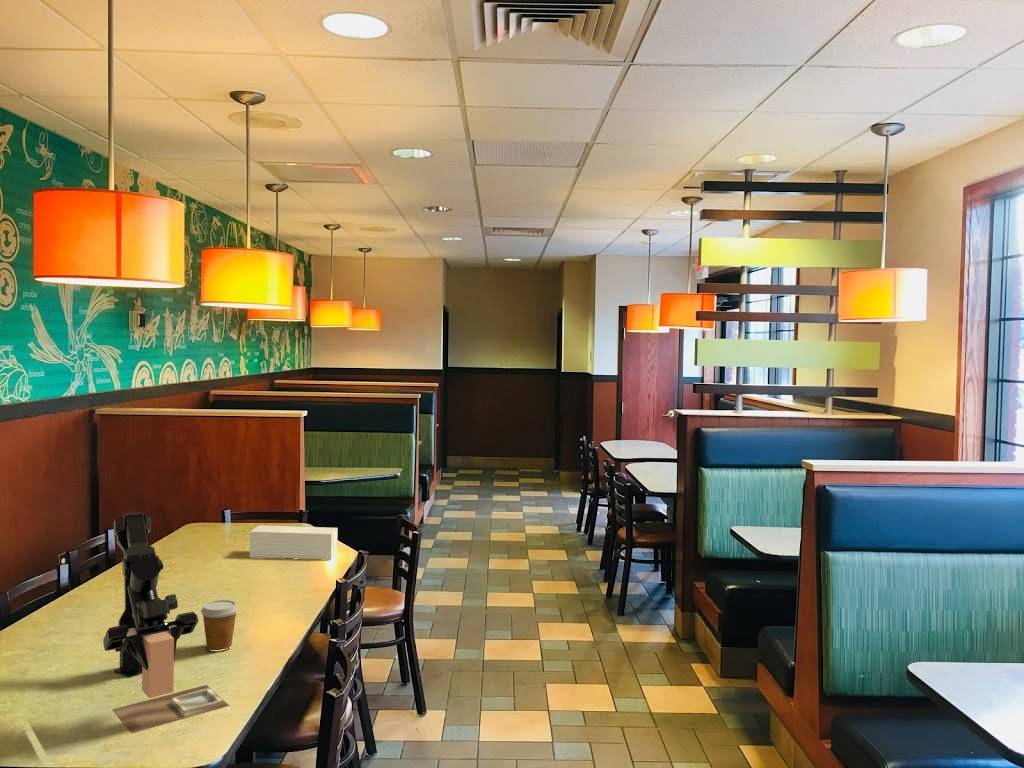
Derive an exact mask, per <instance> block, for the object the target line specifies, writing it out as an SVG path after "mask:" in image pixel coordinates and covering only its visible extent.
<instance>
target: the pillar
mask: <svg viewBox="0 0 1024 768" xmlns="http://www.w3.org/2000/svg"><path fill="white" fill-rule="evenodd" d="M143 648H144V652H145V655H146V658H147V662H148V670H145V669H144V668H143V666H142V674H141V676H142V677H141V678H142V679H141V680H142V681H141V691H142V692H143V693H144V694H145V695H146V696H147V697H148V698H149V699H153V698H157V697H161V696H165V695H169V694H173V693H174V682H175V681H174V680H175V679H174V675H175V673H174V669H175V668H174V666H175V664H174V663H175V660H174V638H173V637H172V636H171V635H170V634H169V633H168V632H167V631H166V632H161V633H156V634H152V635H147V636H143Z"/></svg>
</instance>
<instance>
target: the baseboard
mask: <svg viewBox="0 0 1024 768" xmlns="http://www.w3.org/2000/svg"><path fill="white" fill-rule="evenodd" d="M226 707H230V704H229V703H227V702H226V701H225V700H224V699H223V698H222V697H221V696H219V694H217V693H216V692H215V691H214V690H213V689H212V688H211V687H210V686H208V685H207V684H205V685H201V686H197V687H194V688H193V687H192V688H189V689H186V690H185V689H184V690H182V691H179V692H172V693H169V694H165V695H161V696H157V697H153V698H149V699H147V700H143V701H140V702H135V703H132V704H127V705H124V706H121V707H117V708H113V709H112V711H113V712H114V714H115V715H116V716H117V717H118V720H119V719H120V721H121V722H122V724H123V725H124V726H125V728H127V730H128V731H129V732H130V733H131V734H135V733H138V732H142V731H145V730H149V729H152V728H156V727H159V726H163V725H166V724H169V723H170V724H171V723H173V722H177V721H181V720H185V719H187V718H188V719H189V718H191V717H195V716H198V715H201V714H205V713H208V712H212V711H216V710H219V709H223V708H226Z"/></svg>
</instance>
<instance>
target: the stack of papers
mask: <svg viewBox="0 0 1024 768" xmlns="http://www.w3.org/2000/svg"><path fill="white" fill-rule="evenodd" d="M338 531H339V530H338V527H324V526H323V527H319V526H290V525H257V526H256V527H254V528H253V529H251V530H250V531H249V556H248V557H249V559H263V558H282V559H281V560H286V559H285V558H298V559H325V560H324V561H329V560H331V559H332V558H333V557H334V556H335V557H336V556H337V554H338V538H339V537H338ZM335 557H334V558H335ZM283 558H284V559H283ZM334 558H333V559H334ZM333 559H332V560H333ZM332 560H331V561H332Z"/></svg>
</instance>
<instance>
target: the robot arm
mask: <svg viewBox="0 0 1024 768" xmlns="http://www.w3.org/2000/svg"><path fill="white" fill-rule="evenodd" d="M146 514H147V513H144V512H131V513H130V512H129V513H126V514H123V516H121V517H118V518H115V519H114V521H113V536H114V537H116V544H117V545H118V546H119V548H120V549H121V551H122V552H123V558H122V563H121V565H122V567H121V569H122V571H121V572H122V576H123V581H124V582H123V583H124V584H123V587H124V589H123V590H124V595H123V596H124V610H123V612H122V614H121V616H120V617H119V620H118V621H117V623H118V624H117V625H116V626H112V627H109V628H108V629H107V630H106V632H105V635H104V637H103V640H102V641H103V644H102V645H103V648H104V651H106V652H108V651H113V650H115V653H117V652H119V667H118V668H115V669H113V672H115V673H116V672H117V674H119V673H120V675H122V674H123V676H125V675H126V676H125V677H128V676H129V678H131V677H134V676H136V674H137V675H138V673H139V674H141V672H142V666H143V668H144V669H145V670H148V662H147V658H146V655H145V652H144V648H143V636H147V635H152V634H157V633H161V632H166V631H167V632H168V633H169V634H170V635H171V636H172V637H173V638H174V661H175V660H176V650H177V644H178V643H177V642H178V640H179V639H180V638H181V636H183V635H189V634H191V633H193V632H194V631H195V629H196V627H197V624H198V623H199V618H198V615H197V613H195V612H194V611H189V612H185V613H184V612H183V613H179V614H177V615H176V617H175V620H172V621H167V622H165V620H167V619H168V617H169V616H168V614H171V611H173V610H176V609H177V608H178V607H179V603H178V598H177V596H176V594H175V593H174V594H173V593H172V594H169V595H166V596H165V597H164V599H162V598H161V597H159V595H158V591H157V586H158V582H159V577H160V573H161V571H162V570H164V563H163V561H162V560H161V559H160V557H159V555H157V554H156V550H155V549H156V548H155V547H153V545H150V544H149V543H148V534H150V533H151V531H152V528H151V527H152V526H151V525H152V522H151V520H152V519H151V516H149V515H146ZM133 675H134V676H133ZM130 676H131V677H130Z"/></svg>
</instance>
